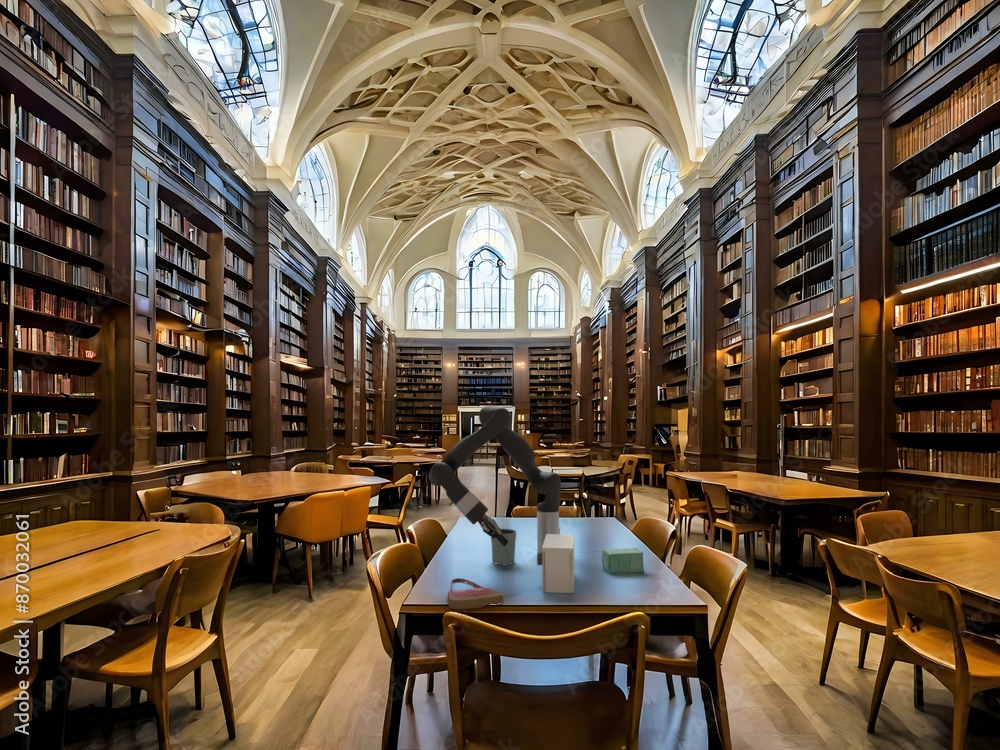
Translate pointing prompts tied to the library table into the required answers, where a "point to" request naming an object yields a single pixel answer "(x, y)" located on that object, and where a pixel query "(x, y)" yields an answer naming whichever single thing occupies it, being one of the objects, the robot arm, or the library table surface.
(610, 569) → the box
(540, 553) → the knob
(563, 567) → the console
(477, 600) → the shoulder bag
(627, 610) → the library table surface
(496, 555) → the grey green cup
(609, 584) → the library table surface
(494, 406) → the robot arm
